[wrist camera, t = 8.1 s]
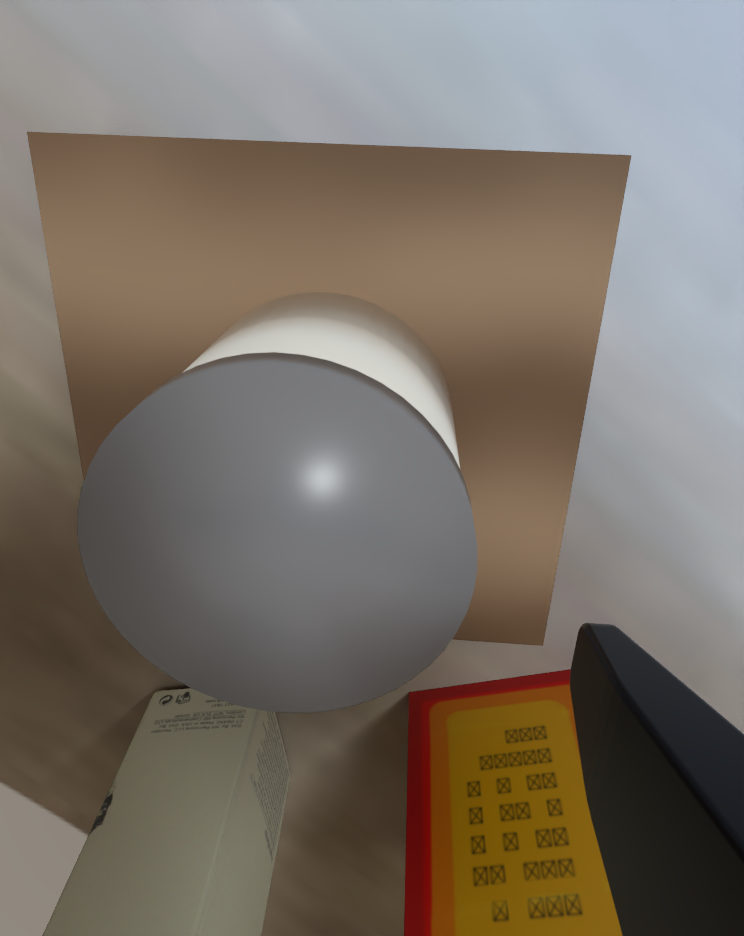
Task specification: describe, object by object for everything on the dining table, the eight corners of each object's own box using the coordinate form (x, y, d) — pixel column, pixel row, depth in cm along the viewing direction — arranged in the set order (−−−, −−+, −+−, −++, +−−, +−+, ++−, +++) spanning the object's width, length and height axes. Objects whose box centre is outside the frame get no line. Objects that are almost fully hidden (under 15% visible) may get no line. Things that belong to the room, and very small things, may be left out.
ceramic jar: (465, 289, 14) (494, 374, 9) (449, 540, 17) (464, 721, 12) (179, 284, 15) (41, 361, 9) (206, 531, 17) (110, 703, 12)
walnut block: (522, 563, 22) (542, 645, 18) (156, 539, 22) (106, 614, 19) (586, 153, 17) (631, 155, 13) (109, 135, 17) (26, 131, 14)
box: (152, 684, 24) (-91, 1169, 13) (271, 676, 24) (131, 1175, 12) (188, 788, 27) (8, 1284, 15) (298, 783, 26) (201, 1292, 14)
